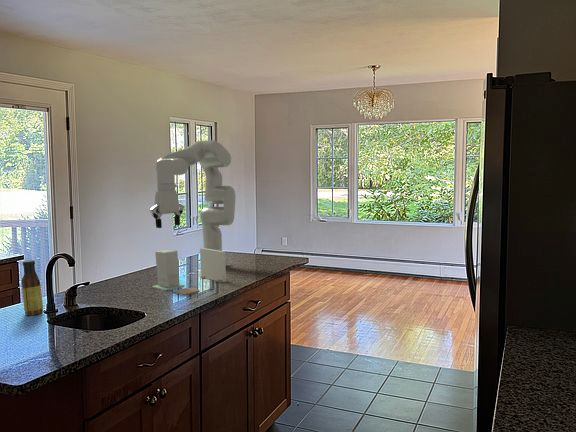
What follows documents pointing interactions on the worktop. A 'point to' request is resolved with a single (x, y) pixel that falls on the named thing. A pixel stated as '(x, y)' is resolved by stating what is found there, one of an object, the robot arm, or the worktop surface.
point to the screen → (213, 265)
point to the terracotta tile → (185, 291)
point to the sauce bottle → (31, 289)
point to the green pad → (167, 287)
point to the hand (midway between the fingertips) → (168, 226)
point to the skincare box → (167, 268)
